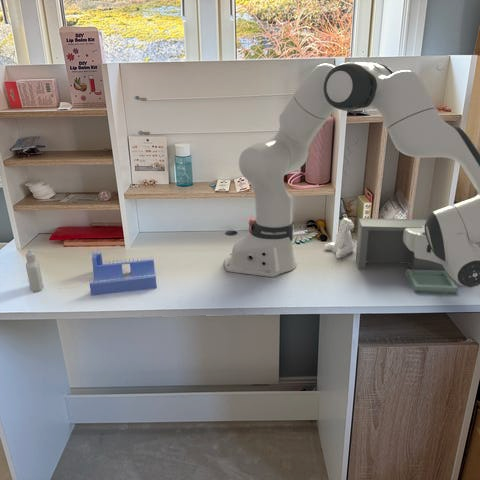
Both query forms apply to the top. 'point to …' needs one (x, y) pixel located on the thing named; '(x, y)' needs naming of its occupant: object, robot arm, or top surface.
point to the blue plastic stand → (121, 276)
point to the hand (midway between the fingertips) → (437, 228)
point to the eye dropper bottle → (33, 272)
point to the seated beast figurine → (342, 240)
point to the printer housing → (388, 243)
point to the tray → (431, 281)
